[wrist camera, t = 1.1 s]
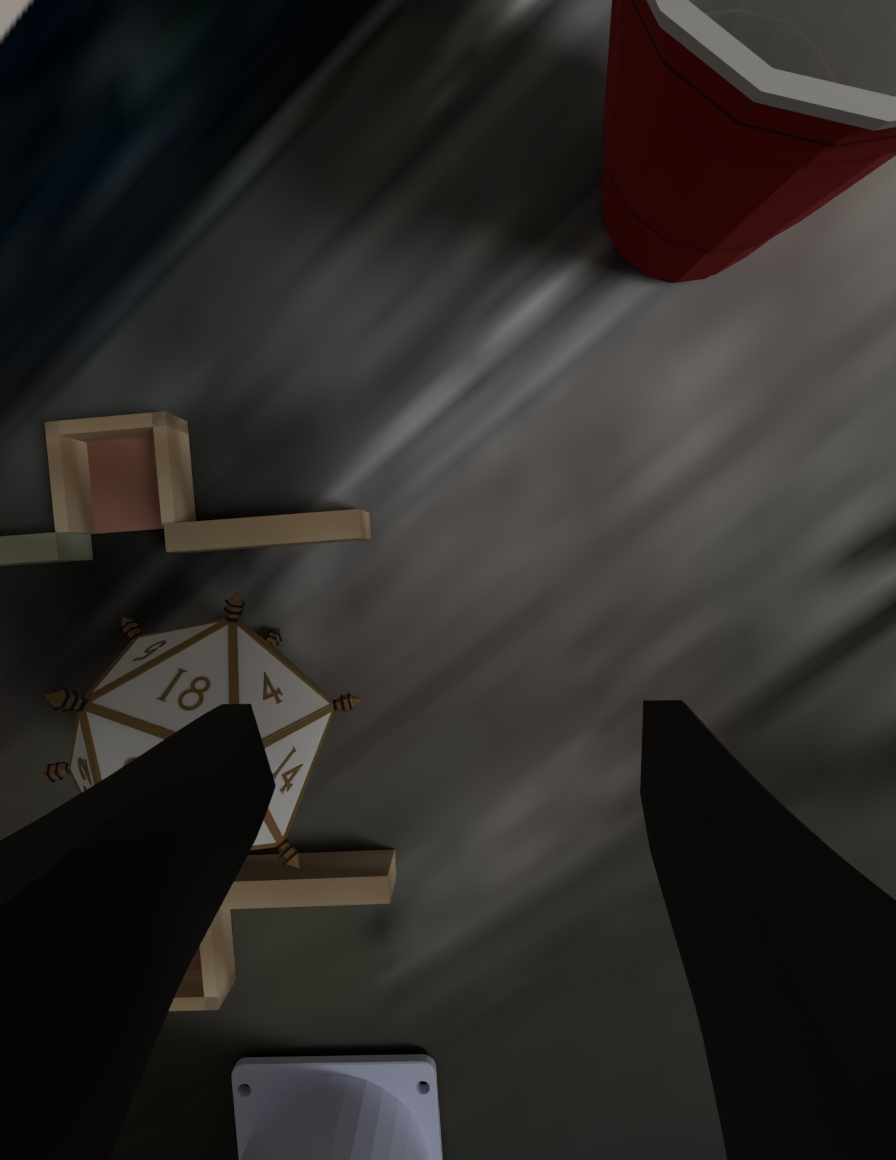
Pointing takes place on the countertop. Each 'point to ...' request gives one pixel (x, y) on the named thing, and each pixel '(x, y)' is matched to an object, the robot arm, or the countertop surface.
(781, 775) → the countertop surface
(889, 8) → the plastic cup
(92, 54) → the countertop surface
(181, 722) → the game die
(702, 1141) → the countertop surface
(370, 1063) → the robot arm
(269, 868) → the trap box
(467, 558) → the countertop surface
